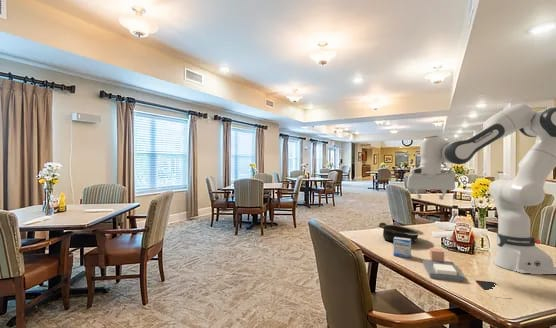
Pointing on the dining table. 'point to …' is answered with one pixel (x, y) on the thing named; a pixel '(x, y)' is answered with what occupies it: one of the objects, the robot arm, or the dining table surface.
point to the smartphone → (486, 284)
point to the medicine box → (402, 247)
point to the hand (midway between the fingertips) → (430, 199)
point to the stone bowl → (399, 232)
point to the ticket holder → (443, 270)
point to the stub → (436, 254)
